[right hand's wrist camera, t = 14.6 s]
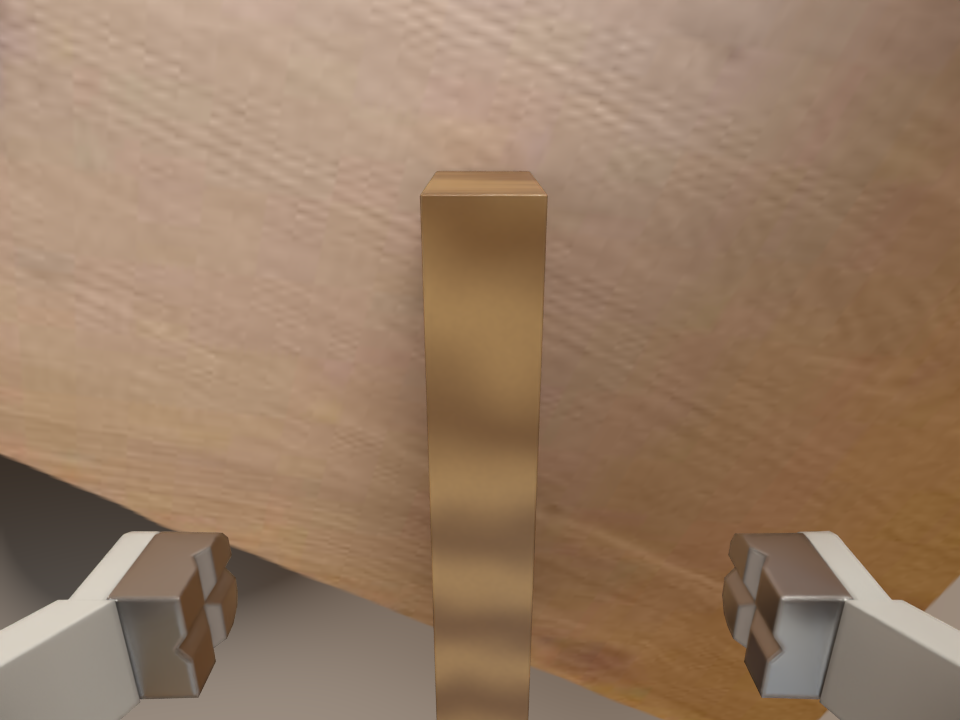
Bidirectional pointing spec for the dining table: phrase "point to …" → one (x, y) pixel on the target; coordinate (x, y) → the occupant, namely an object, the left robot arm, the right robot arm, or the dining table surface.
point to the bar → (483, 431)
